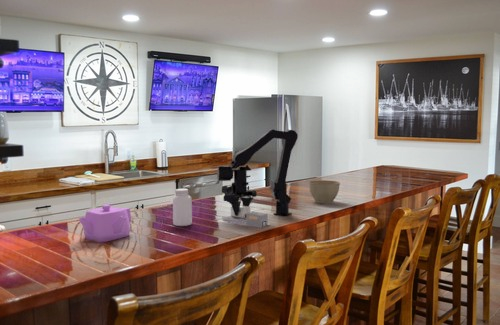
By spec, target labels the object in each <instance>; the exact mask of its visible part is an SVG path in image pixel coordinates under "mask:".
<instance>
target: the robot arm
mask: <svg viewBox="0 0 500 325" xmlns="http://www.w3.org/2000/svg"><path fill="white" fill-rule="evenodd" d="M273 139H279V140H281V147H282V148H281V152H280V153H281V154H280V157H279V163H278V168H277V174H276V178H275V180H274V181H273V180H272V181H271V182H270V187H269V191H270V194H271V196H272V197H274V199H275V201H276V202H275V212H273V214H274V215H275V216H280V215H283V216H282V217H286V215H287V216H290V215H292V212H290V206H289V204H290V203H291V200H292V197H291V196H289V195H288V194H287V181H286V180H287V176H288V170H289V164H290V161H291V155H292V150H293V148H294V147H295V145H296V144H297V141H298V133H297V131H295V130H293V129H285V130H284V131H283V130H277V129H276V130H275V129H273V128H270V129H268V130H267V131H266V132H265V133H264V134H262V135H261V136H260V137H259V138H258V139H256V140H255V141H254V142H252V143H251V144H250V145H249V146H247V147H245V148H242V149H241V150H239V151H237V152H236V153H234V154H233V157H232V160H231V162H230V163H229V165H218V166H217V172H216V176H217V178H216V180H217V182H228V181H229V182H230V181H232V179H233V182H232V183H231V185H230V186H228V185H224V186H223V185H222V187H221V193H222V194H223V201H224V202H227V203H229V204H230V205H231V207H232V208H233V210H234V213H235V216H237V215H238V212H239V208H240V205H241V204H242V206H249V207H250V205H251V203H252V201H253V199H254V198H255V197H257V195H258V194H257V191H256V190H255V189H254V190H253V189H247V187H248V186H249V182H248V181H247V180H248V177H247V174H248V172H247V171H251V170H252V169H251V167H250V166H249V165H248V162H249V161H250V160H251V159H252V158H253V156H254V155H255V154H256V153H257V152H258V151H259V150H261V149H262V148H264V147H265V146H266V145H267V144H268V143H270V142H271V141H272V140H273ZM289 214H290V215H289ZM235 216H234V217H235Z"/></svg>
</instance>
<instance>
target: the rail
mask: <svg viewBox="0 0 500 325" xmlns="http://www.w3.org/2000/svg"><path fill="white" fill-rule="evenodd" d="M217 222H219V223H227V224H233V225H239V226H246V227H247V226H248V227H253V228H259V226H252V225H247V218H242V217H235V216H226V215H224V216H222V219H220V220H218V221H217ZM268 225H270V223H268V224H267V225H265V222H264V221H263V222H262V226H261V227H260V228H263V227H266V226H268Z"/></svg>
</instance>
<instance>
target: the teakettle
mask: <svg viewBox="0 0 500 325" xmlns="http://www.w3.org/2000/svg"><path fill="white" fill-rule="evenodd" d="M78 220H79V223H80V224H81V225H82V228H83V235H84V237H85V238H84V239H87V240H90V241H94V242H96V243H107V242H109V241H110V242H111V241H115V240H118V239H122V238H125V237H129V236H130V233H131V226H130V223H132V215H131V208H129V207H125V208H121V207H117V206H116V207H114V206H112V205H110V204H104V205H101V207H100V208H91V209H90V210H87V211H86V212H85V215H84V216H81V217H79V218H78Z"/></svg>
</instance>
